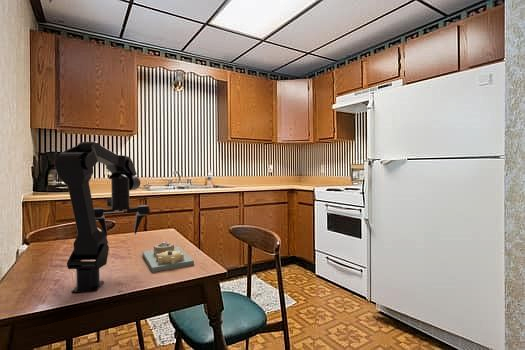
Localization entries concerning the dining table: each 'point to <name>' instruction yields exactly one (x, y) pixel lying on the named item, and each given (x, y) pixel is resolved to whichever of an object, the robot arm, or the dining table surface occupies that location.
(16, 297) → the dining table surface
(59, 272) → the dining table surface
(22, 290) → the dining table surface
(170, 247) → the beige thick ring
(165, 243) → the peg
